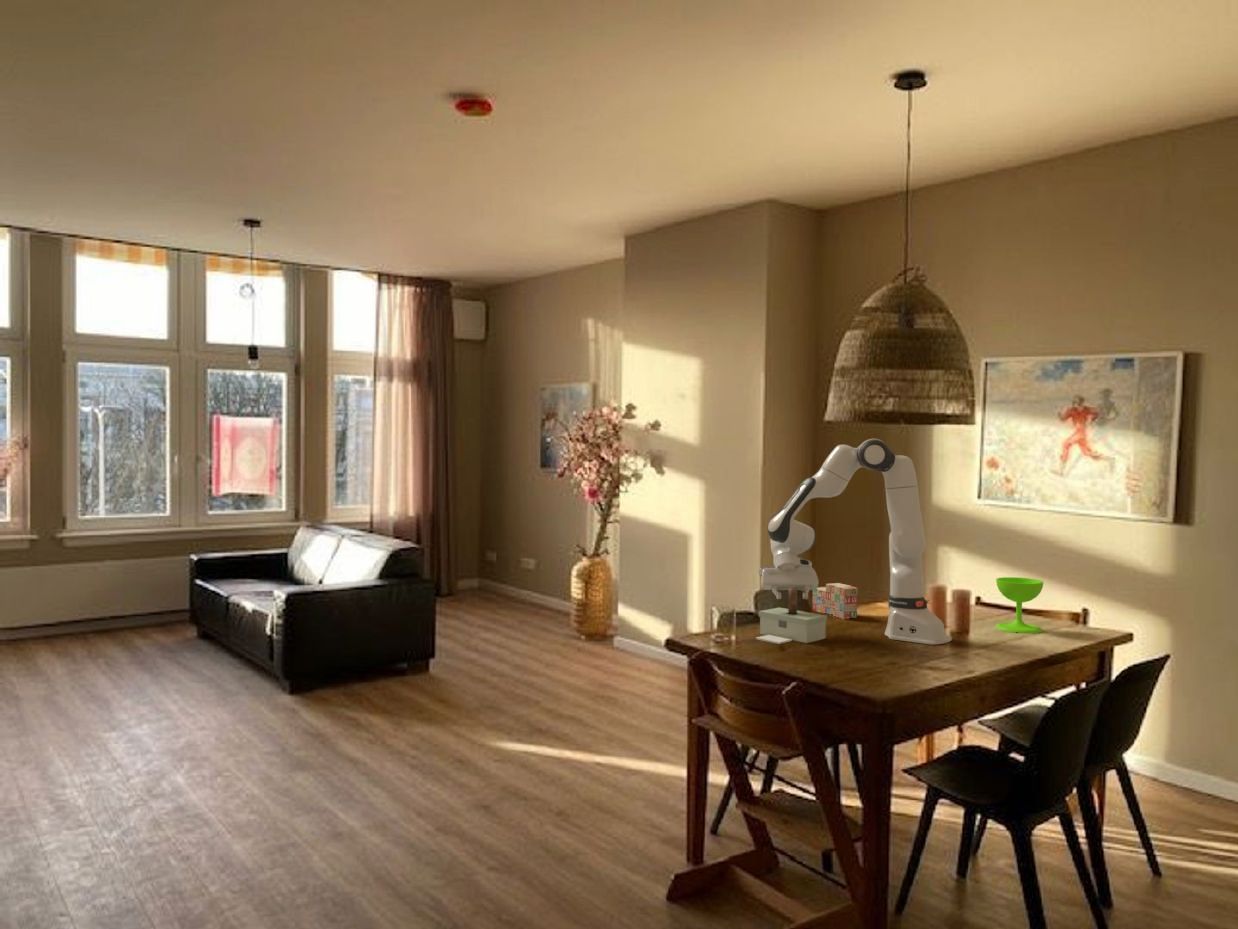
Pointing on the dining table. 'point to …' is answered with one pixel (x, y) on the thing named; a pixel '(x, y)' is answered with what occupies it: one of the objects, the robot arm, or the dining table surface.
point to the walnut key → (792, 601)
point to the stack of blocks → (836, 600)
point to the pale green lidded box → (793, 625)
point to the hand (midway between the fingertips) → (792, 598)
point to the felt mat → (773, 639)
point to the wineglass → (1019, 601)
